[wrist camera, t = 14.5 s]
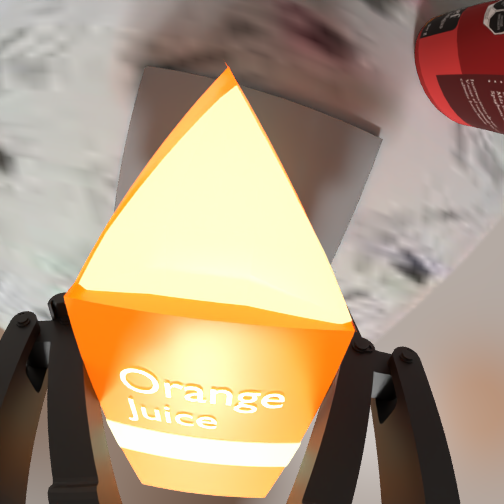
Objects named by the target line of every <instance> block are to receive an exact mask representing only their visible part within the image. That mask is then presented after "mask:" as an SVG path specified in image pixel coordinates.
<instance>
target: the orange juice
mask: <svg viewBox="0 0 504 504" xmlns="http://www.w3.org/2000/svg"><path fill="white" fill-rule="evenodd" d="M226 65H227V64H226ZM227 67H228V66H227ZM64 300H65V304H66V308H67V311H68V315H69V319H70V322H71V325H72V329H73V332H74V335H75V339H76V342H77V345H78V348H79V351H80V354H81V357H82V359H83V361H84V364H85V367H86V370H87V372H88V375H89V378H90V380H91V383H92V385H93V388H94V390H95V393H96V395H97V397H98V400H99V402H100V405H101V407H102V409H103V411H104V414H105V416H106V418H107V419H106V421H107V423H108V425H109V427H110V429H111V431H112V433H113V435H114V437H115V439H116V441H117V443H118V444H119V446H120V447H121V448H122V449H123V451H124V453H125V455H126V457H127V459H128V460H129V462H130V464H131V466H132V467H133V469H134V471H135V472H136V474H137V476H138V477H139V479H140V481H141V482H142V484H146V485H151V486H156V487H160V488H166V489H171V490H177V491H184V492H191V493H199V494H207V495H218V496H232V497H257V498H260V497H261V498H264V497H265V496H266V495H267V493H268V492H269V490H270V489H271V487H272V486H273V484H274V483H275V481H276V480H277V478H278V477H279V475H280V474H281V472H282V470H283V469H284V467H285V466H287V465H288V463H289V462H290V460H291V458H292V457H293V455H294V453H295V452H296V450H297V449H298V447H299V445H300V441H301V439H302V438H303V436H304V434H305V432H306V431H307V429H308V427H309V425H310V423H311V422H312V419H313V418H314V416H315V414H316V412H317V410H318V409H319V407H320V405H321V403H322V401H323V399H324V397H325V395H326V393H327V391H328V389H329V387H330V385H331V383H332V381H333V379H334V377H335V375H336V373H337V370H338V368H339V366H340V364H341V362H342V360H343V357H344V355H345V353H346V351H347V348H348V346H349V344H350V342H351V339H352V337H353V334H354V332H355V330H354V327H355V326H354V327H353V325H352V322H353V321H352V319H351V316H350V313H349V311H348V308H347V306H346V303H345V301H344V298H343V296H342V293H341V290H340V288H339V286H338V283H337V281H336V278H335V276H334V273H333V271H332V268H331V266H330V264H329V261H328V259H327V257H326V254H325V252H324V250H323V248H322V246H321V244H320V242H319V240H318V238H317V236H316V234H315V232H314V230H313V228H312V226H311V224H310V222H309V219H308V217H307V215H306V213H305V211H304V209H303V207H302V205H301V203H300V200H299V198H298V196H297V194H296V192H295V190H294V188H293V186H292V184H291V182H290V180H289V178H288V176H287V174H286V172H285V170H284V168H283V166H282V164H281V162H280V160H279V158H278V156H277V154H276V152H275V150H274V149H273V147H272V145H271V143H270V141H269V139H268V137H267V135H266V133H265V132H264V130H263V128H262V126H261V124H260V122H259V120H258V119H257V117H256V115H255V113H254V111H253V110H252V108H251V106H250V104H249V102H248V101H247V99H246V97H245V95H244V93H243V92H242V90H241V88H240V87H239V85H238V83H237V81H236V80H235V78H234V76H233V74H232V72H231V70H230V68H229V67H228V68H227V69H226V70H225V71H224V72H223V73H222V74H221V75H220V76H219V78H218V79H217V80H216V81H215V82H214V83H213V84H212V85H211V86H210V87H209V88H208V90H207V91H206V92H205V93H204V94H203V95H202V96H201V97H200V99H199V100H198V101H197V102H196V103H195V104H194V105H193V107H192V108H191V109H190V110H189V111H188V113H187V114H186V115H185V116H184V117H183V119H182V120H181V121H180V122H179V123H178V125H177V126H176V127H175V128H174V130H173V131H172V132H171V133H170V135H169V136H168V137H167V139H166V140H165V141H164V142H163V144H162V145H161V146H160V148H159V149H158V150H157V152H156V153H155V154H154V156H153V157H152V158H151V160H150V161H149V162H148V164H147V165H146V167H145V168H144V169H143V171H142V172H141V174H140V175H139V177H138V178H137V179H136V181H135V182H134V184H133V185H132V187H131V188H130V190H129V191H128V193H127V194H126V196H125V197H124V199H123V200H122V202H121V203H120V205H119V206H118V208H117V210H116V211H115V213H114V214H113V216H112V217H111V219H110V221H109V222H108V224H107V226H106V227H105V229H104V231H103V232H102V234H101V236H100V237H99V239H98V241H97V243H96V244H95V246H94V248H93V250H92V251H91V253H90V255H89V257H88V259H87V260H86V262H85V264H84V266H83V268H82V270H81V272H80V273H79V275H78V277H77V279H76V281H75V283H74V284H73V286H72V287H71V288H70V289H69V290H68V292H67V293H66V294H65V295H64ZM351 321H352V322H351ZM356 332H357V331H356Z"/></svg>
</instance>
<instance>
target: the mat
mask: <svg viewBox="0 0 504 504" xmlns="http://www.w3.org/2000/svg"><path fill="white" fill-rule="evenodd" d="M216 80H217V79H214V78H209V77H205V76H200V75H196V74H191V73H186V72H181V71H176V70H170V69H164V68H158V67H152V66H145V70H144V73H143V76H142V80H141V83H140V87H139V90H138V94H137V97H136V101H135V105H134V109H133V113H132V117H131V121H130V125H129V130H128V134H127V139H126V144H125V148H124V153H123V159H122V164H121V170H120V175H119V181H118V188H117V194H116V202H115V209H114V213H115V211H116V210H117V208H118V206H119V205H120V203H121V202H122V200H123V199H124V197H125V196H126V194H127V193H128V191H129V190H130V188H131V187H132V185H133V184H134V182H135V181H136V179H137V178H138V177H139V175H140V174H141V172H142V171H143V169H144V168H145V167H146V165H147V164H148V162H149V161H150V160H151V158H152V157H153V156H154V154H155V153H156V152H157V150H158V149H159V148H160V146H161V145H162V144H163V142H164V141H165V140H166V139H167V137H168V136H169V135H170V133H171V132H172V131H173V130H174V128H175V127H176V126H177V125H178V123H179V122H180V121H181V120H182V119H183V117H184V116H185V115H186V114H187V113H188V111H189V110H190V109H191V108H192V107H193V105H194V104H195V103H196V102H197V101H198V100H199V99H200V97H201V96H202V95H203V94H204V93H205V92H206V91H207V90H208V88H209V87H210V86H211V85H212V84H213V83H214V82H215V81H216ZM239 87H240V88H241V90H242V92H243V93H244V95H245V97H246V99H247V101H248V102H249V104H250V106H251V108H252V110H253V111H254V113H255V115H256V117H257V119H258V120H259V122H260V124H261V126H262V128H263V130H264V132H265V133H266V135H267V137H268V139H269V141H270V143H271V145H272V147H273V149H274V150H275V152H276V154H277V156H278V158H279V160H280V162H281V164H282V166H283V168H284V170H285V172H286V174H287V176H288V178H289V180H290V182H291V184H292V186H293V188H294V190H295V192H296V194H297V196H298V198H299V200H300V203H301V205H302V207H303V209H304V211H305V213H306V215H307V217H308V219H309V222H310V224H311V226H312V228H313V230H314V232H315V234H316V236H317V238H318V240H319V242H320V244H321V246H322V248H323V250H324V252H325V254H326V257H327V259H328V261H329V264H331V262H332V260H333V258H334V256H335V253H336V251H337V249H338V247H339V245H340V242H341V240H342V238H343V236H344V234H345V231H346V229H347V227H348V224H349V222H350V220H351V218H352V215H353V213H354V211H355V208H356V206H357V203H358V201H359V199H360V196H361V194H362V191H363V189H364V186H365V184H366V181H367V179H368V176H369V174H370V171H371V169H372V166H373V164H374V161H375V158H376V156H377V153H378V150H379V148H380V145H381V142H382V140H383V139H381V138H379V137H377V136H375V135H373V134H371V133H368V132H366V131H364V130H362V129H360V128H357V127H355V126H353V125H351V124H348V123H346V122H344V121H341V120H339V119H337V118H334V117H332V116H329V115H327V114H324V113H322V112H319V111H317V110H314V109H311V108H309V107H306V106H303V105H301V104H298V103H295V102H292V101H289V100H286V99H283V98H280V97H277V96H274V95H271V94H268V93H265V92H262V91H258V90H255V89H251V88H248V87H244V86H241V85H239Z"/></svg>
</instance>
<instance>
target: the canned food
mask: <svg viewBox="0 0 504 504" xmlns="http://www.w3.org/2000/svg"><path fill="white" fill-rule="evenodd" d="M415 63H416V68H417V73H418V76H419V79H420V82H421V85H422V87H423V89H424V91H425V93H426V95H427V96H428V98H429V99H430V101H431V102H432V103H433V105H434V106H435V107H436V108H437V109H438V110H439V111H440V112H442V113H443V114H444V115H445V116H447V117H448V118H450V119H451V120H453V121H455V122H457V123H459V124H463V125H467V126H472V127H476V128H480V129H485V130H489V131H493V132H497V133H501V134H504V0H495V1H490V2H486V3H482V4H478V5H474V6H470V7H466V8H463V9H459V10H456V11H452V12H449V13H446V14H443V15H440V16H437V17H435V18H432V19H431V20H430V21H429V22H427V23H426V25H425V26H424V27H423V28H422V30H421V31H420V33H419V34H418V37H417V41H416V46H415Z"/></svg>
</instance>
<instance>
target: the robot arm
mask: <svg viewBox="0 0 504 504" xmlns="http://www.w3.org/2000/svg"><path fill="white" fill-rule="evenodd" d="M65 294H66V293H60V294H57V295H55V296H53V297H52V298H51V299H50V300H49V302H48V307H49V310H50V314H51V317H52V320H51V321H38V320H37V317H36V315H35V314H34V313H33V312H29V311H25V312H21V313H18V314H17V315H15V316H14V317H13V318H12V320H11V321H10V323H9V325H8V327H7V329H6V330H5V332H4V334H3V336H2V338H1V340H0V504H25V501H26V491H27V483H28V474H29V468H30V462H31V456H32V450H33V445H34V440H35V435H36V430H37V426H38V422H39V417H40V413H41V409H42V405H43V402H44V398H45V394H46V391H47V387H48V393H47V395H48V396H47V401H48V402H47V407H48V435H49V449H50V459H51V468H52V476H53V484H52V485H51V486H50V487H49V490H48V500H49V504H122V501H121V498H120V495H119V492H118V488H117V484H116V480H115V477H114V473H113V469H112V465H111V460H110V456H109V452H108V447H107V442H106V437H105V432H104V426H103V421H102V414H101V407H100V402H99V400H98V397H97V395H96V393H95V390H94V388H93V385H92V383H91V380H90V378H89V375H88V372H87V370H86V367H85V364H84V361H83V359H82V357H81V354H80V351H79V348H78V345H77V342H76V339H75V335H74V332H73V329H72V325H71V322H70V319H69V315H68V311H67V308H66V304H65V300H64V295H65ZM346 306H347V305H346ZM347 308H348V307H347ZM348 311H349V309H348ZM349 313H350V311H349ZM350 316H351V319H352V321H353V322H352V321H351V322H352V325H353V327H354V326H355V327H354V330H355V332H354V334H353V337H352V339H351V342H350V344H349V346H348V348H347V351H346V353H345V355H344V357H343V360H342V362H341V364H340V366H339V368H338V370H337V373H336V375H335V377H334V379H333V381H332V383H331V385H330V387H329V389H328V391H327V393H326V395H325V397H324V399H323V401H322V403H321V405H320V408H319V412H318V415H317V419H316V422H315V425H314V428H313V431H312V434H311V437H310V441H309V444H308V447H307V450H306V452H305V455H304V458H303V461H302V464H301V467H300V470H299V472H298V475H297V478H296V480H295V483H294V485H293V488H292V491H291V493H290V496H289V498H288V501H287V503H286V504H352V500H353V496H354V492H355V488H356V484H357V479H358V475H359V470H360V465H361V460H362V455H363V450H364V444H365V438H366V432H367V426H368V419H369V412H370V405H371V410H372V417H373V424H374V432H375V438H376V447H377V455H378V464H379V475H380V487H381V500H382V504H460V499H459V494H458V489H457V483H456V479H455V474H454V469H453V465H452V461H451V456H450V452H449V449H448V445H447V441H446V437H445V433H444V430H443V426H442V423H441V420H440V416H439V413H438V410H437V407H436V403H435V400H434V397H433V395H432V391H431V388H430V386H429V382H428V380H427V377H426V374H425V371H424V368H423V366H422V363H421V361H420V358H419V356H418V355H417V353H416V352H414V351H413V350H411V349H409V348H407V347H397V348H396V349H394V351H393V353H392V354H388V353H384V352H379V351H376V350H375V347H374V346H373V344H372V343H371V342H370V341H368V340H367V339H365V338H362V337H361V335H360V333H359V330H358V328H357V326H356V324H355V322H354V320H353V317H352V315H351V314H350ZM356 331H357V332H356Z"/></svg>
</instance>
